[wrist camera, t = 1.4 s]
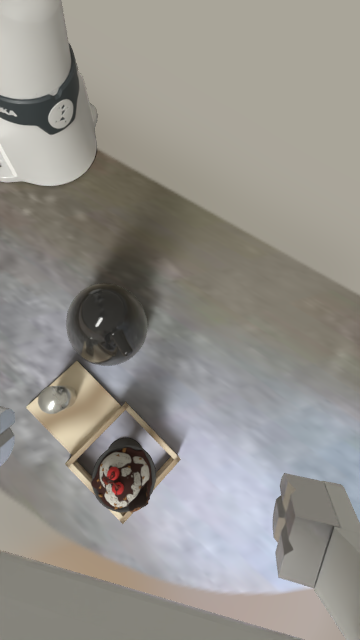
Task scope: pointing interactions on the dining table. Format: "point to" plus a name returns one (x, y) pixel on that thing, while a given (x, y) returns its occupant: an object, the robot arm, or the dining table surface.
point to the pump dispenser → (106, 324)
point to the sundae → (124, 477)
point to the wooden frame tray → (86, 419)
